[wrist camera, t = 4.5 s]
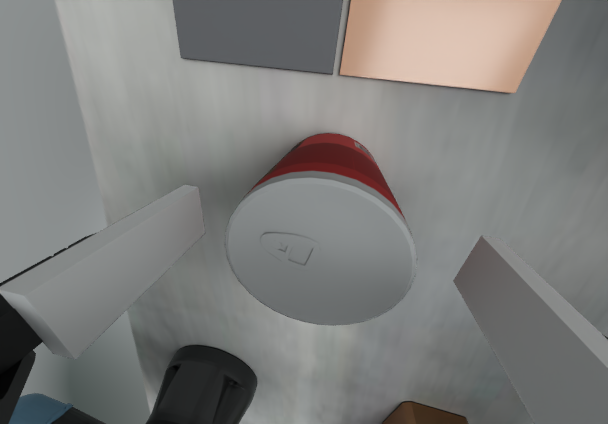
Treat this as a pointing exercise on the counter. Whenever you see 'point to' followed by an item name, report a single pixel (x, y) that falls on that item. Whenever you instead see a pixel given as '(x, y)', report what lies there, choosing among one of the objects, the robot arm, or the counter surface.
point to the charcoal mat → (260, 32)
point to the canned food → (323, 236)
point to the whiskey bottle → (422, 415)
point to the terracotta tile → (445, 41)
